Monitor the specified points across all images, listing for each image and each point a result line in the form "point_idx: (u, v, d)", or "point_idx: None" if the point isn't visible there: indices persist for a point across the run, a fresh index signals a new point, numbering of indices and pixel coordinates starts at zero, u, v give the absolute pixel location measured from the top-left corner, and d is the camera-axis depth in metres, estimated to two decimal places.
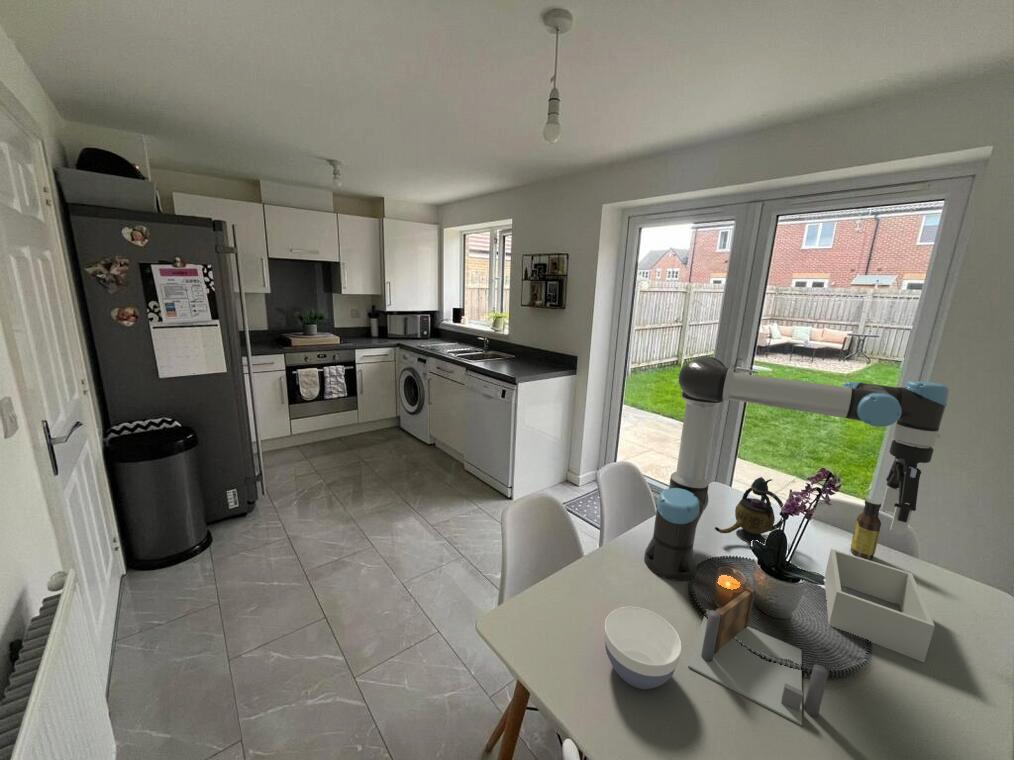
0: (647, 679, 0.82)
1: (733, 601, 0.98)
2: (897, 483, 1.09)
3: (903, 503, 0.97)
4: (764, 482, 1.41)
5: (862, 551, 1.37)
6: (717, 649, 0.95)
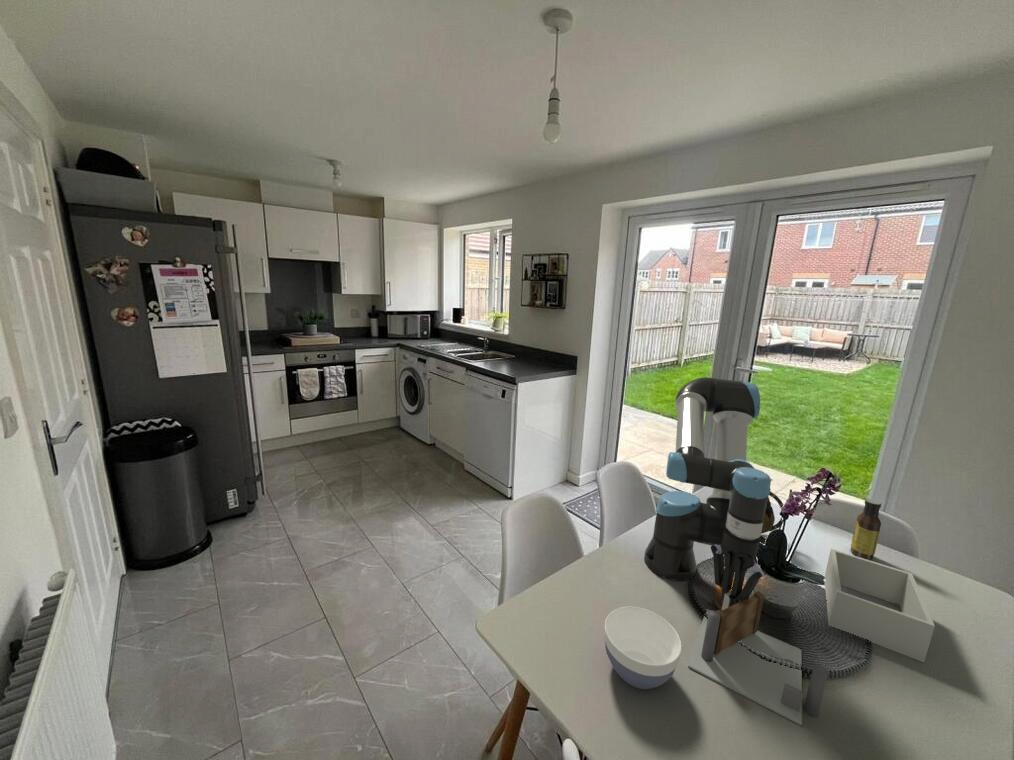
0: (647, 679, 0.82)
1: (738, 604, 0.97)
2: None
3: None
4: None
5: (862, 551, 1.37)
6: (718, 650, 0.95)
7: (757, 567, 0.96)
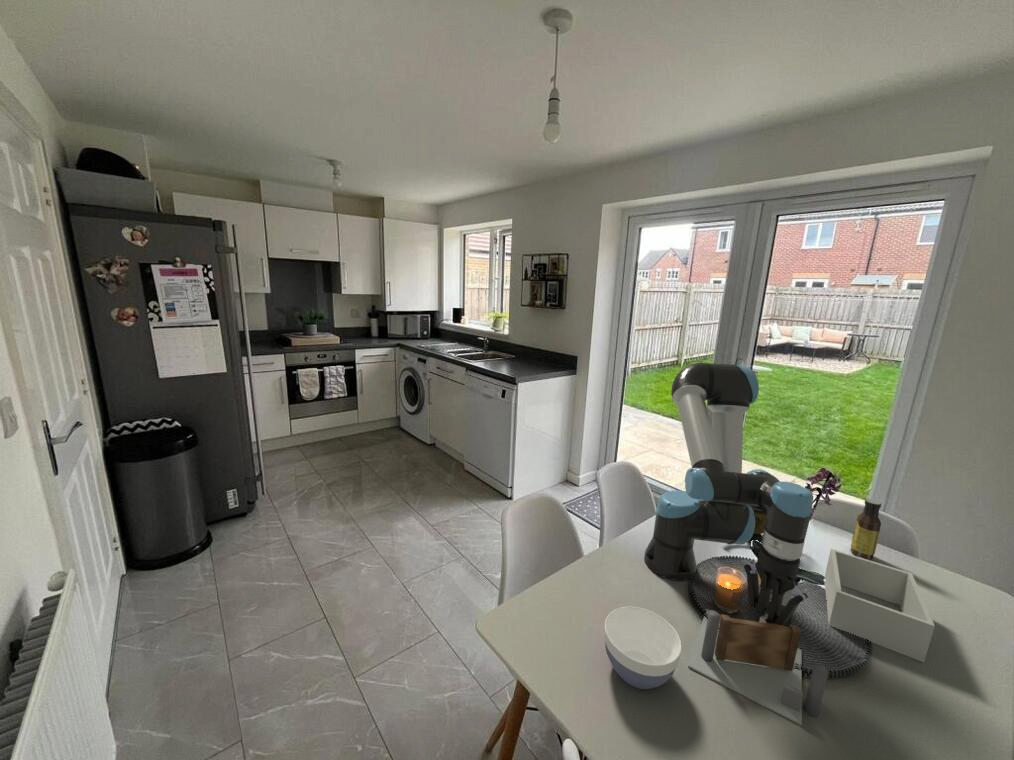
0: (647, 679, 0.82)
1: (756, 622, 0.91)
2: None
3: None
4: None
5: (862, 551, 1.37)
6: (722, 657, 0.93)
7: (798, 590, 0.89)
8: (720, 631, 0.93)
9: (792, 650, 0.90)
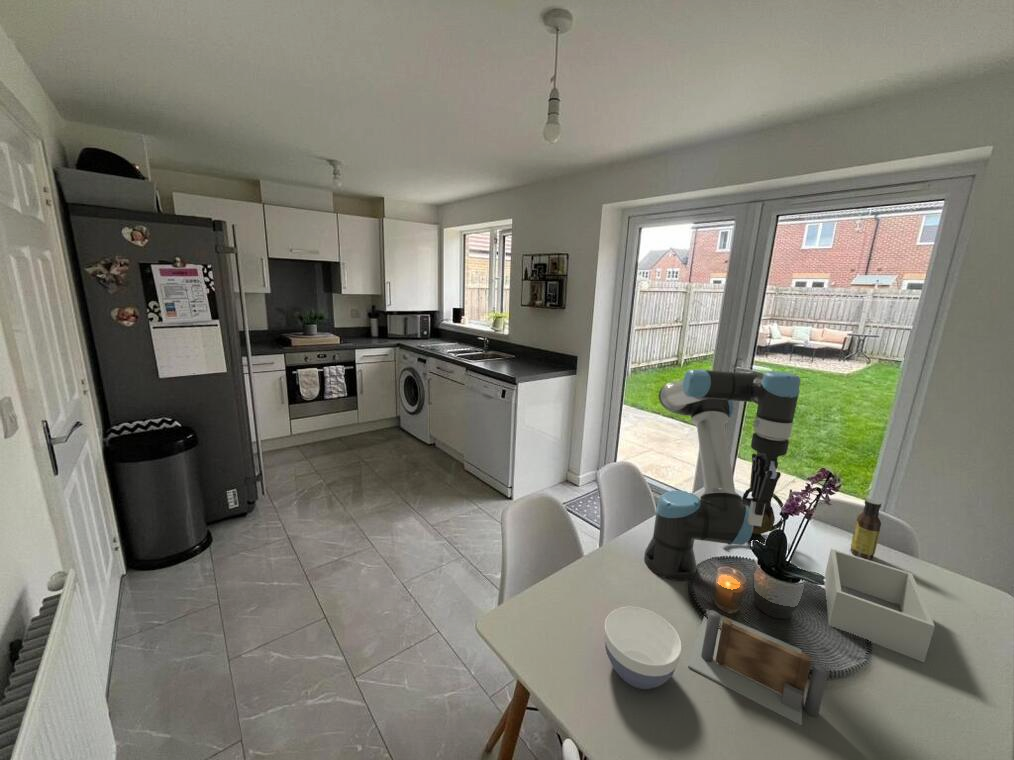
0: (647, 679, 0.82)
1: (761, 637, 0.87)
2: None
3: None
4: None
5: (862, 551, 1.37)
6: (720, 661, 0.92)
7: (772, 467, 0.96)
8: (720, 634, 0.92)
9: (800, 680, 0.83)
